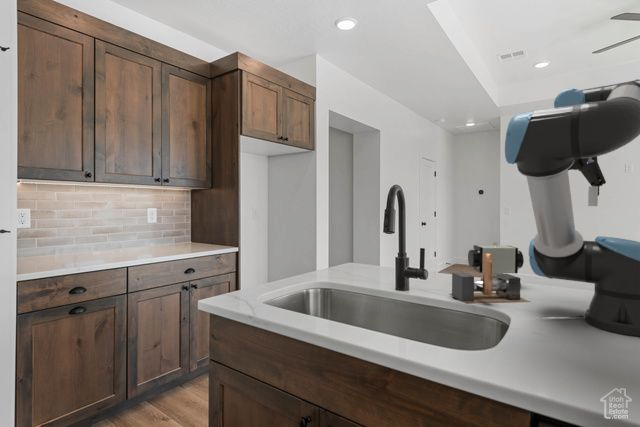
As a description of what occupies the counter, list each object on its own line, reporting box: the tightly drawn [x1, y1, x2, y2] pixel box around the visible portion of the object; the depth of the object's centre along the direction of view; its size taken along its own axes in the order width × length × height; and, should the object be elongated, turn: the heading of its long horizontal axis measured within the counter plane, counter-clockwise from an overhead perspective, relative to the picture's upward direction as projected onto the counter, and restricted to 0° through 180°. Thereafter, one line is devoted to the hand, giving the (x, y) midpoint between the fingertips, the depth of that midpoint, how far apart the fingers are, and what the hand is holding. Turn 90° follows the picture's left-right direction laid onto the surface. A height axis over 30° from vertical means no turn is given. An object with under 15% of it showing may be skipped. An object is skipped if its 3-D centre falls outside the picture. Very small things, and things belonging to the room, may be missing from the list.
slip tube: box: [474, 253, 522, 296], centre depth 113 cm, size 20×10×14 cm, turn 95°
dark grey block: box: [451, 271, 475, 302], centre depth 116 cm, size 7×4×8 cm, turn 5°
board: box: [449, 292, 531, 305], centre depth 117 cm, size 12×22×1 cm, turn 95°
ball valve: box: [467, 241, 525, 281], centre depth 134 cm, size 18×8×18 cm, turn 84°
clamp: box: [495, 273, 521, 300], centre depth 117 cm, size 7×4×7 cm, turn 5°
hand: (573, 206), depth 113 cm, fingers open, 13 cm apart
